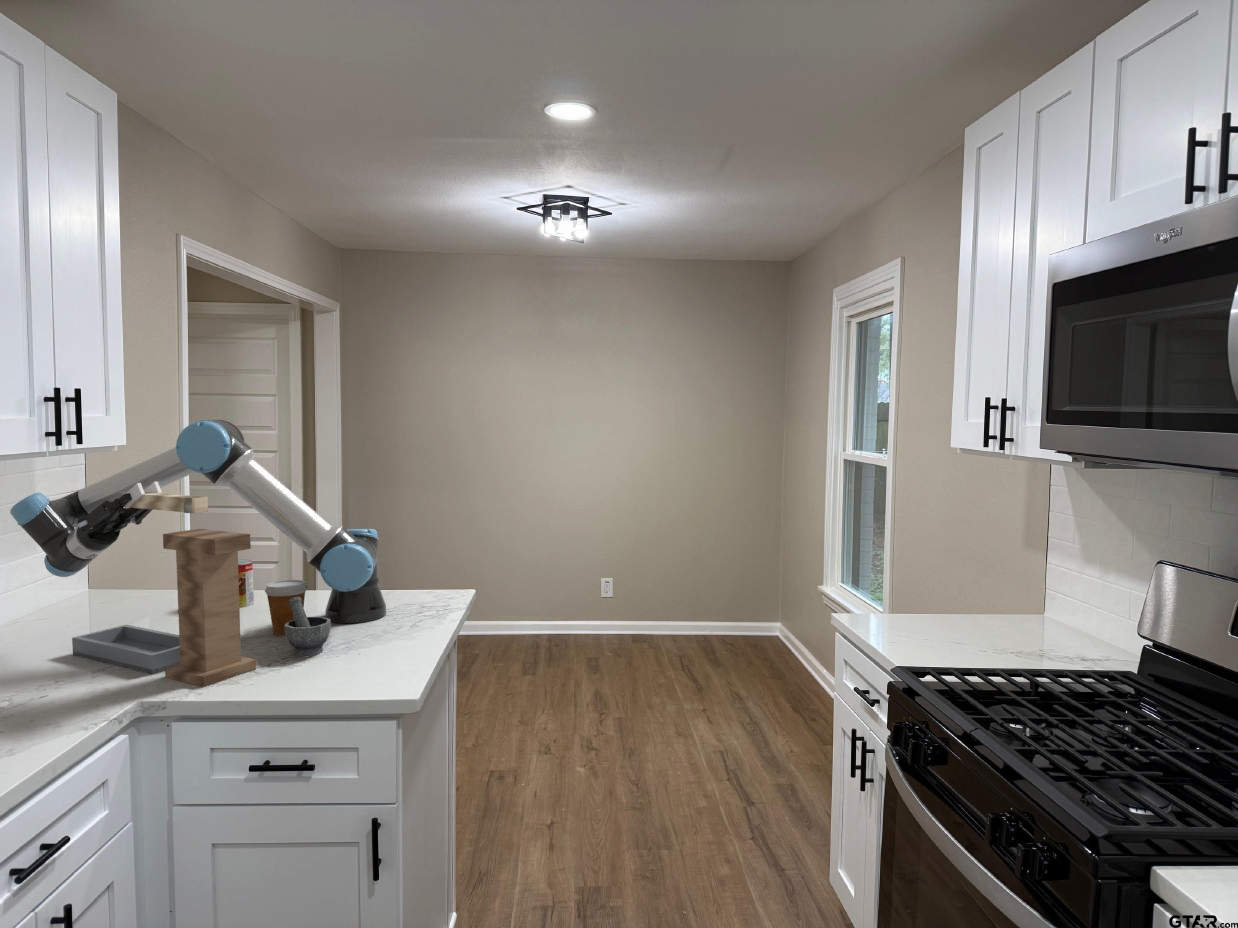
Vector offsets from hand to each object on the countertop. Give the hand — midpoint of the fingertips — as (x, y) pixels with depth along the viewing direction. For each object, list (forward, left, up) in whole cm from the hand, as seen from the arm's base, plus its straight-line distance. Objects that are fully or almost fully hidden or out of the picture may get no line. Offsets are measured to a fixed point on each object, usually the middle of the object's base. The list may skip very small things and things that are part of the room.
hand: (149, 487), depth 171 cm
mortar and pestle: (-30, -1, -38) cm, 49 cm away
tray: (+5, -5, -38) cm, 38 cm away
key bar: (-3, +3, -4) cm, 6 cm away
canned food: (-5, -51, -38) cm, 64 cm away
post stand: (-13, +10, -38) cm, 41 cm away
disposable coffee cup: (-23, -19, -38) cm, 48 cm away
